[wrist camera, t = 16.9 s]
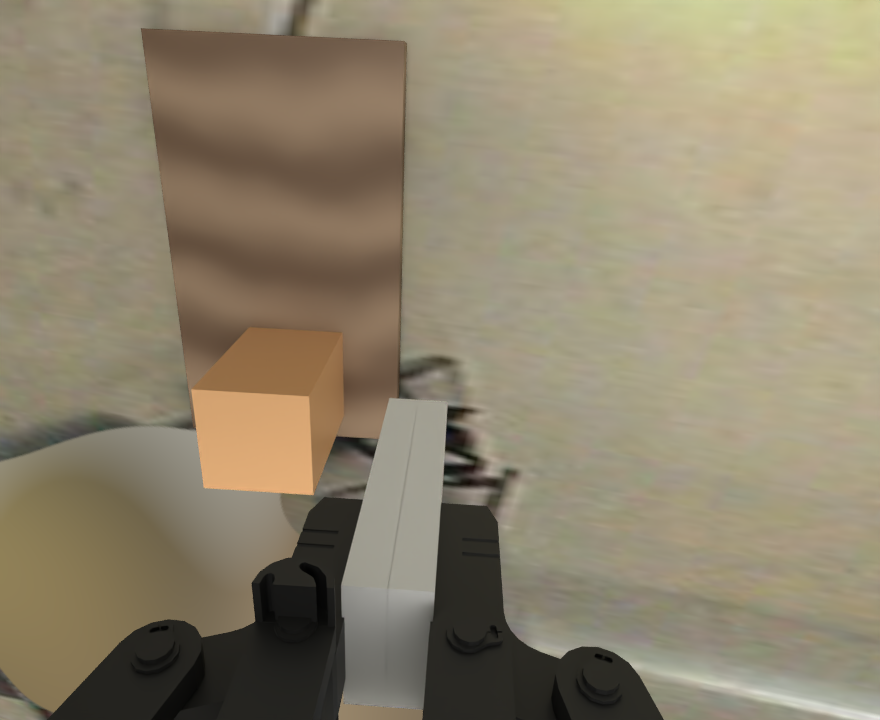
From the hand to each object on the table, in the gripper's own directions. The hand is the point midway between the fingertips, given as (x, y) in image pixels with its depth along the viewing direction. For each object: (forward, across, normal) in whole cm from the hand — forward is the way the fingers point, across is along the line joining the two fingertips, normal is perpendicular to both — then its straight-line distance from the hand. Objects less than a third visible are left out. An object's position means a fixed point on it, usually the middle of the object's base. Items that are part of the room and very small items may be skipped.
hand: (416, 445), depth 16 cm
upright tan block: (+25, -10, -10) cm, 29 cm away
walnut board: (+26, -10, -2) cm, 28 cm away
